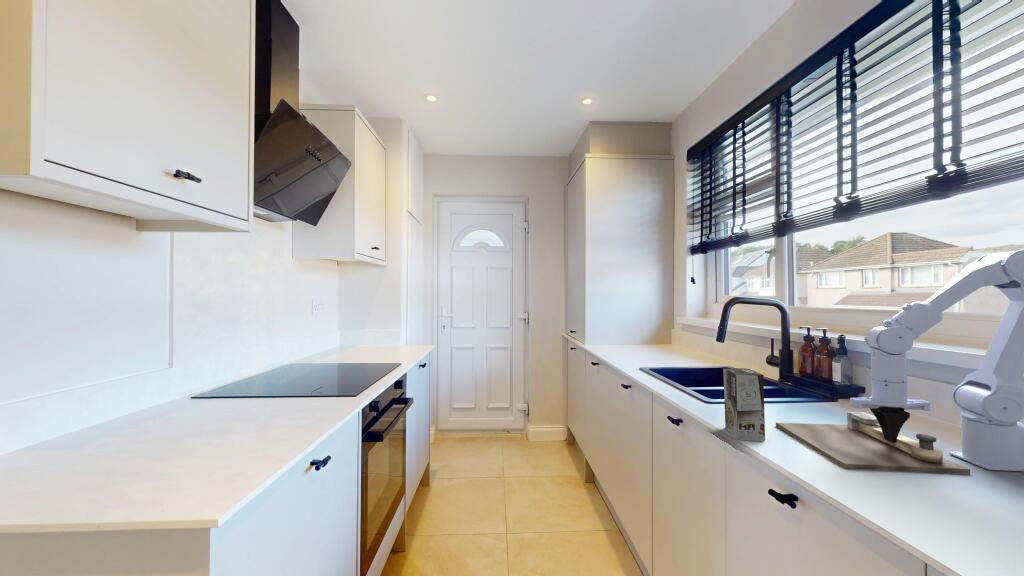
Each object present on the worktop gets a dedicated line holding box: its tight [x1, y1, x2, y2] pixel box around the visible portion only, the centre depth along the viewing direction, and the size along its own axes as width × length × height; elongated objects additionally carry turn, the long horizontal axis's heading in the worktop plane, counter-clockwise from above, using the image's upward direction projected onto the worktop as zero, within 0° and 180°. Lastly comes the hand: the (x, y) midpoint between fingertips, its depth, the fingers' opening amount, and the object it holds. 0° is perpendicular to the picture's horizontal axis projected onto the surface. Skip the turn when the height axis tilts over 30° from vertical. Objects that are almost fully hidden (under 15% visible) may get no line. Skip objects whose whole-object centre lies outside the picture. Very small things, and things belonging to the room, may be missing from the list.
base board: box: [775, 411, 971, 475], centre depth 87 cm, size 22×25×5 cm
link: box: [859, 422, 944, 463], centre depth 85 cm, size 18×4×4 cm, turn 172°
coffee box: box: [723, 367, 766, 442], centre depth 96 cm, size 9×6×16 cm
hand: (890, 441), depth 84 cm, fingers closed
